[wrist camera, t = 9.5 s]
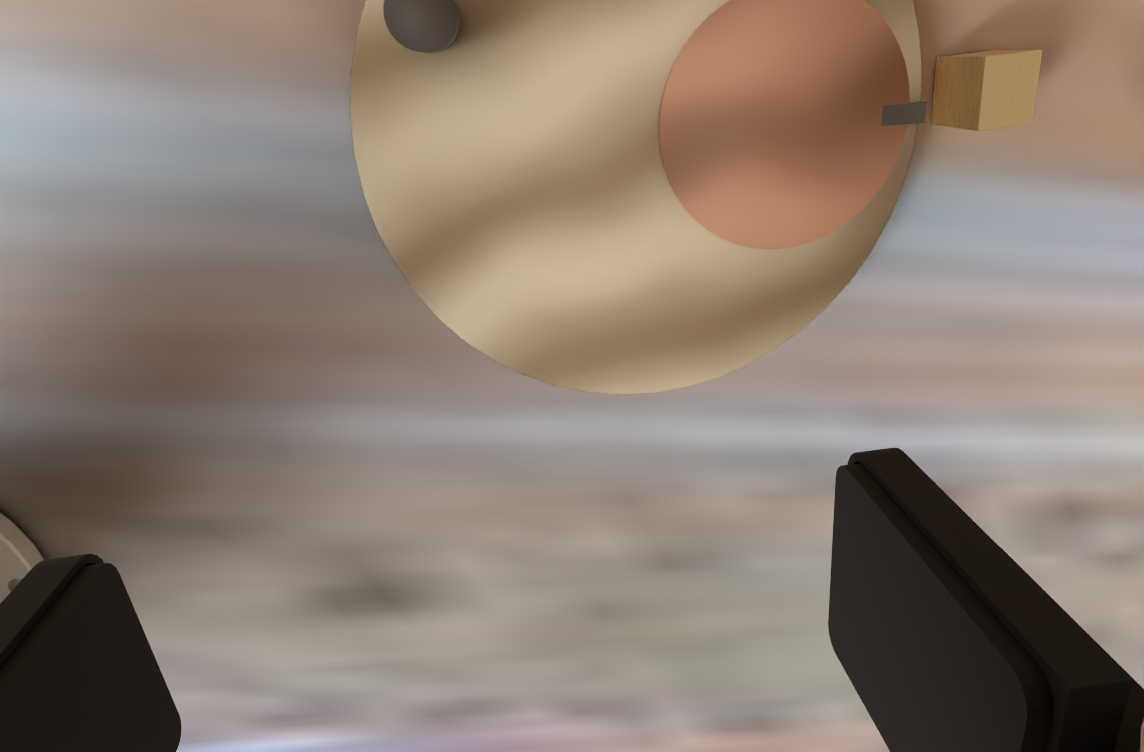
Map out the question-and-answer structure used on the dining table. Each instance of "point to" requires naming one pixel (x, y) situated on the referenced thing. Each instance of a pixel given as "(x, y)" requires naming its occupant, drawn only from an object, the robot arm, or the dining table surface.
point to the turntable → (632, 171)
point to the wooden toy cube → (986, 89)
